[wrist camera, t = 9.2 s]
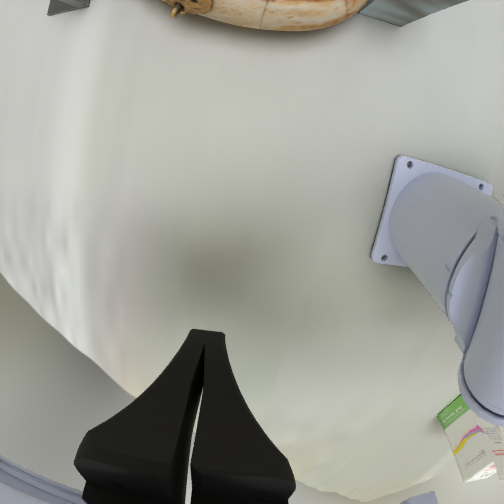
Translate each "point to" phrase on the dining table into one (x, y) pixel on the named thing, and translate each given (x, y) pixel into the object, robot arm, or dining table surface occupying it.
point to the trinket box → (272, 12)
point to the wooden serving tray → (404, 9)
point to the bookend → (66, 5)
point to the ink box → (473, 442)
